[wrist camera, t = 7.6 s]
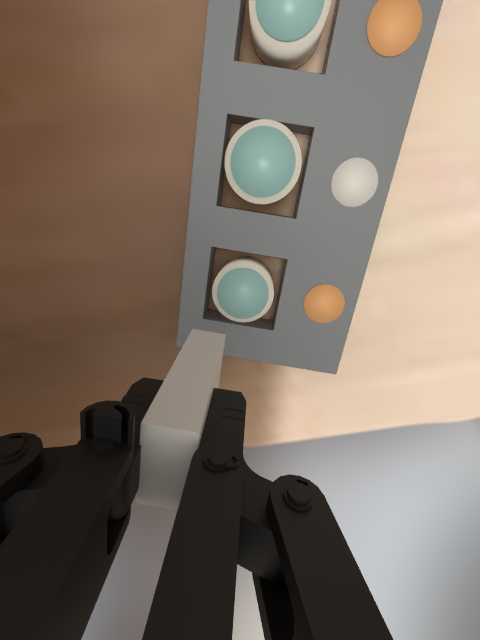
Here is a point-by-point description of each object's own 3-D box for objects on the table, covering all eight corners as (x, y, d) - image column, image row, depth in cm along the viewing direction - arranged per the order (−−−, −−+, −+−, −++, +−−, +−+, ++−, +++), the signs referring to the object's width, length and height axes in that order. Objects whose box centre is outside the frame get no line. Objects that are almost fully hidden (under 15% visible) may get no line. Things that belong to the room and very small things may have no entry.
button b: (225, 198, 24) (219, 197, 21) (234, 125, 23) (229, 111, 19) (289, 209, 24) (293, 209, 21) (303, 136, 22) (310, 124, 19)
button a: (214, 305, 29) (208, 318, 26) (221, 251, 28) (215, 257, 24) (267, 314, 29) (267, 328, 26) (277, 260, 27) (279, 268, 24)
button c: (245, 65, 23) (242, 41, 20) (257, -23, 21) (256, -64, 18) (313, 75, 23) (321, 53, 20) (329, -12, 21) (341, -51, 18)
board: (182, 336, 31) (175, 347, 28) (226, -100, 21) (220, -142, 18) (330, 361, 30) (336, 375, 28) (448, -67, 20) (474, -106, 18)
